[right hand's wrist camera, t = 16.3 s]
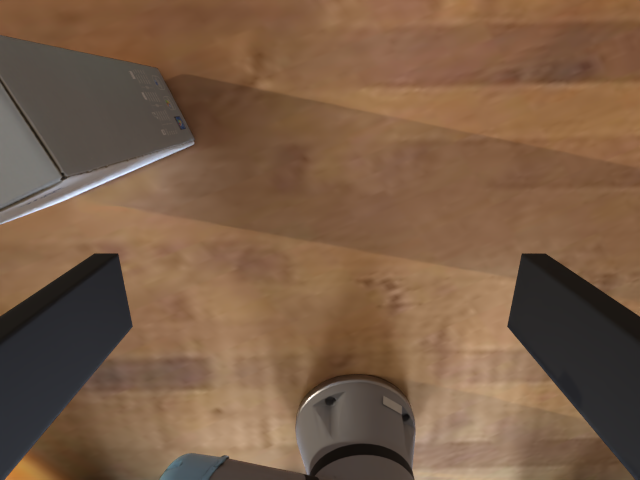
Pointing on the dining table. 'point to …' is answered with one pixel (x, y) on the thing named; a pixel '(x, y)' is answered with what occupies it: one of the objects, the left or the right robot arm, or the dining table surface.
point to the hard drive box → (77, 123)
